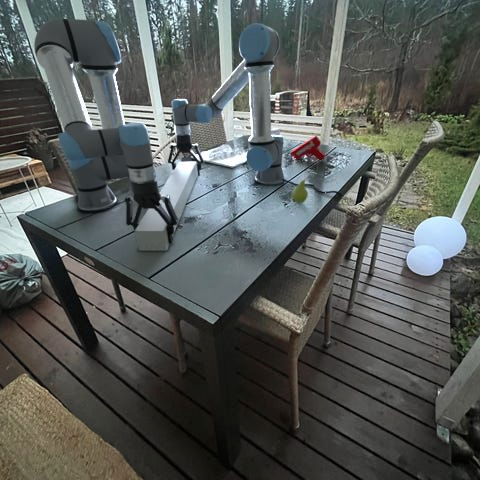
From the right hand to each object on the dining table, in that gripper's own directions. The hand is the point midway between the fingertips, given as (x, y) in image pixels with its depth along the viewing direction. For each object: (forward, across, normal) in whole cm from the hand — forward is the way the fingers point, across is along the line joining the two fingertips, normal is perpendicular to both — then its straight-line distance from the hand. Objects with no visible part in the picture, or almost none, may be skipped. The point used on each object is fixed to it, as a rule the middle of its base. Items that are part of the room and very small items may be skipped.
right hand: (187, 175), depth 148 cm
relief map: (+1, +18, +38) cm, 42 cm away
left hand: (+1, 0, -65) cm, 65 cm away
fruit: (+1, +55, -32) cm, 64 cm away
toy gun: (+1, +72, +32) cm, 79 cm away
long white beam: (+1, 0, -32) cm, 33 cm away
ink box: (+1, +54, +70) cm, 89 cm away
